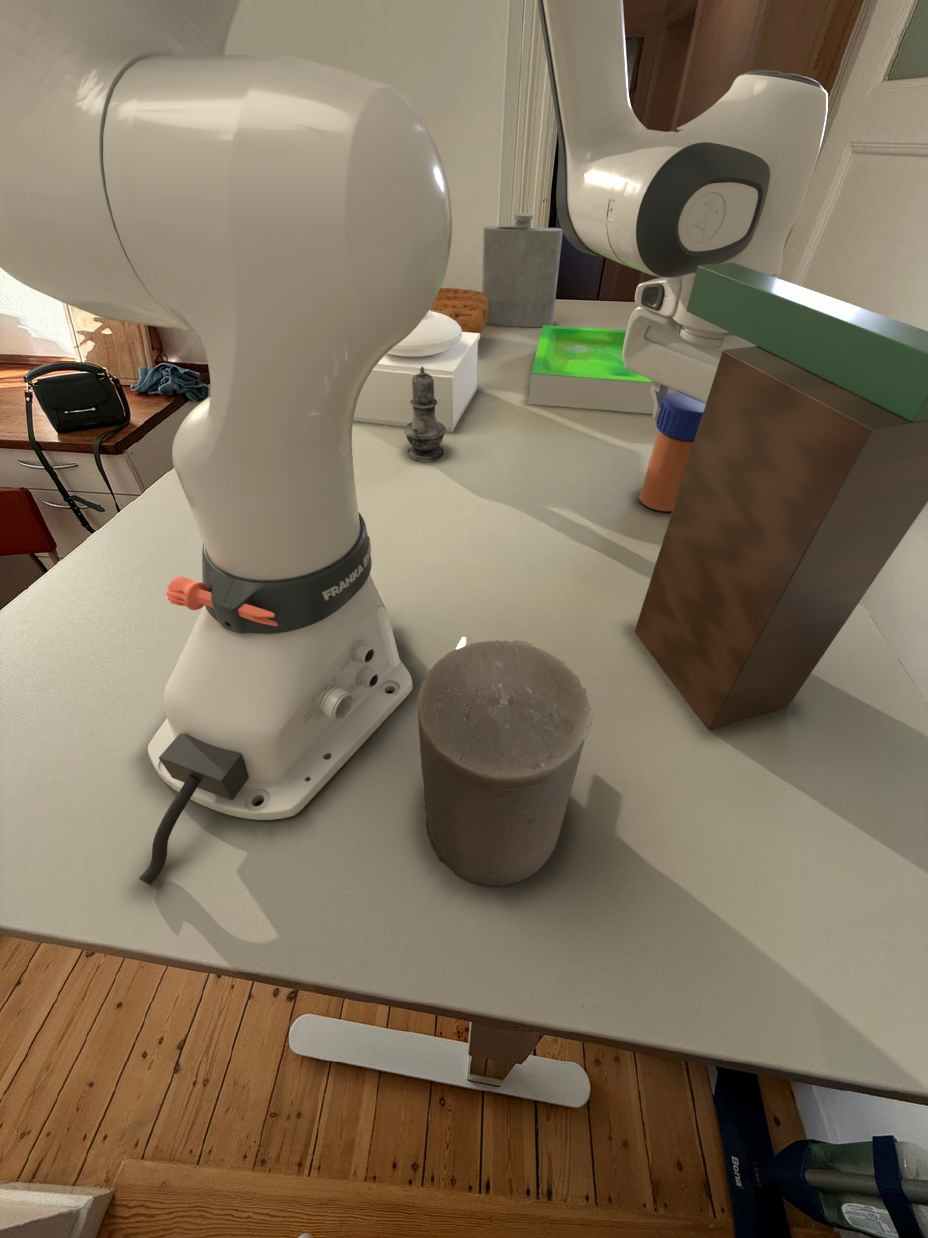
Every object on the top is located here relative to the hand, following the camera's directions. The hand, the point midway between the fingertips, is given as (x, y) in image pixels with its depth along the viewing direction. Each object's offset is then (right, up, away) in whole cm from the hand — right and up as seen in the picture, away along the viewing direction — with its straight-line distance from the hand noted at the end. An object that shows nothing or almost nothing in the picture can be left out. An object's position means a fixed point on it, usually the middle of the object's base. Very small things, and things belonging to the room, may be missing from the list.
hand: (683, 431), depth 65 cm
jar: (-1, -7, +6) cm, 9 cm away
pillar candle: (-24, -36, -25) cm, 50 cm away
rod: (-5, -5, -30) cm, 30 cm away
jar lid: (0, 0, 0) cm, 0 cm away
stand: (-4, -26, -14) cm, 30 cm away
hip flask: (-14, +43, +58) cm, 74 cm away
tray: (-1, +21, +35) cm, 40 cm away
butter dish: (-34, +14, +27) cm, 46 cm away
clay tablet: (-30, +35, +50) cm, 68 cm away
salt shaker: (-31, +2, +15) cm, 35 cm away
